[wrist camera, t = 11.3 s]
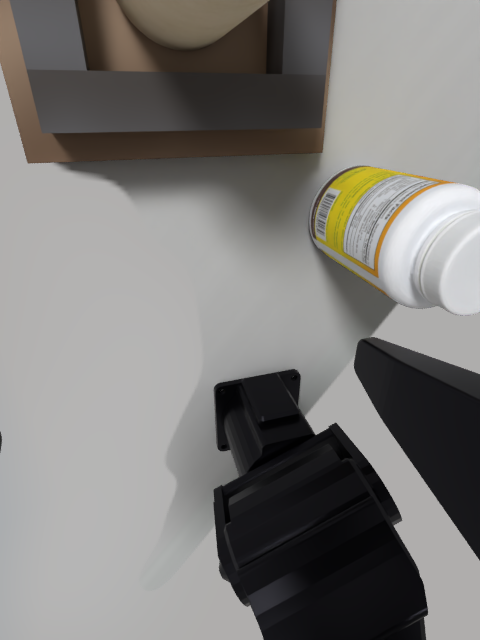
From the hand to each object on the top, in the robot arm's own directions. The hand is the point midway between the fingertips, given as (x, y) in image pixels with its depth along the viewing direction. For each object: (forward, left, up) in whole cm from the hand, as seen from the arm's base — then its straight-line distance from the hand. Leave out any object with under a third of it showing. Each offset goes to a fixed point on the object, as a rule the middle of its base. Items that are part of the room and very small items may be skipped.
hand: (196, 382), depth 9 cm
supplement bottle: (0, -12, -13) cm, 18 cm away
